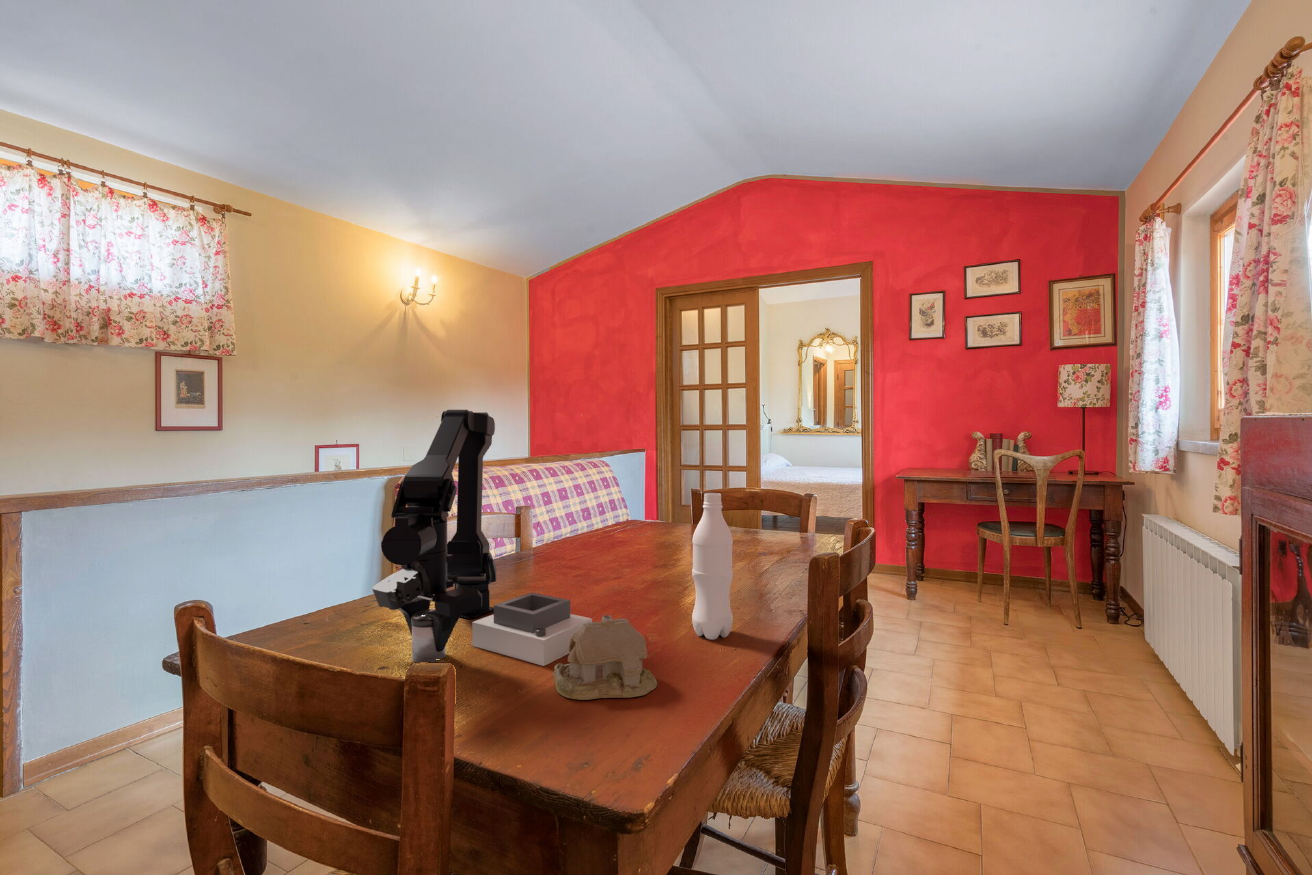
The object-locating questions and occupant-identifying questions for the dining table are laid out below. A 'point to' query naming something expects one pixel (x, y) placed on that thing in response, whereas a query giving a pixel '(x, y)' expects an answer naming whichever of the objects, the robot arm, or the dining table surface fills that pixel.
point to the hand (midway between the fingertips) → (429, 647)
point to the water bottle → (712, 571)
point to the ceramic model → (605, 662)
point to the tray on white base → (529, 628)
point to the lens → (424, 638)
